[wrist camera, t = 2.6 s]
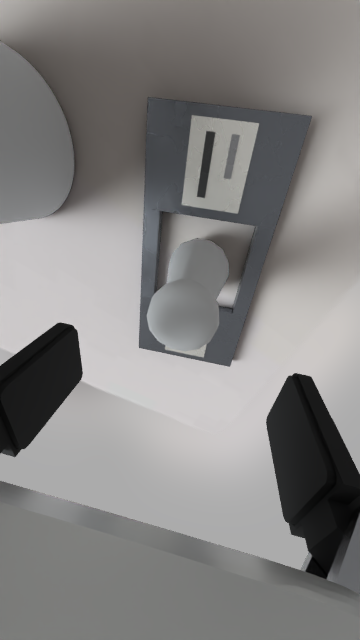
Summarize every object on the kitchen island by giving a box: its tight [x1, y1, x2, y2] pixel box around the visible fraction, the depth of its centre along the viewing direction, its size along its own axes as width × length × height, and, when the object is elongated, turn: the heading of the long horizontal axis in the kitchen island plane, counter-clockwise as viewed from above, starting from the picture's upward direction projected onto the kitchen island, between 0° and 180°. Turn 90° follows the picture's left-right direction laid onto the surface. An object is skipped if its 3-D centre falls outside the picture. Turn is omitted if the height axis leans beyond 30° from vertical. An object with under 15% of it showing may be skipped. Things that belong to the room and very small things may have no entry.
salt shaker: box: [147, 238, 229, 351], centre depth 18 cm, size 6×6×13 cm
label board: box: [139, 97, 312, 367], centre depth 22 cm, size 24×12×2 cm, turn 173°
